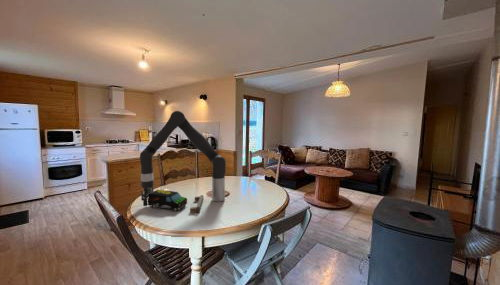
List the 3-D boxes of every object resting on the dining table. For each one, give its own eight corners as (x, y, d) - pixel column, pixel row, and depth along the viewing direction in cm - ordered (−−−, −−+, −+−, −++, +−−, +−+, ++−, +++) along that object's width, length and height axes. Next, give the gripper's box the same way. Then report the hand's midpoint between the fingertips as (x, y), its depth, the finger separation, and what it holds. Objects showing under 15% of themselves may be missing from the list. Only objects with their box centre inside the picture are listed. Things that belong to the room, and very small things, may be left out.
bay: (203, 200, 151) (203, 195, 151) (199, 212, 131) (199, 206, 130) (195, 200, 151) (195, 195, 150) (190, 213, 130) (189, 207, 129)
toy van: (179, 212, 131) (178, 197, 130) (146, 207, 137) (146, 193, 136) (188, 206, 141) (188, 191, 140) (157, 201, 147) (157, 188, 146)
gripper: (149, 182, 129) (149, 207, 130) (156, 176, 143) (157, 199, 144) (136, 182, 128) (137, 207, 129) (145, 176, 142) (146, 199, 144)
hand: (147, 203), depth 137 cm, fingers open, 8 cm apart
